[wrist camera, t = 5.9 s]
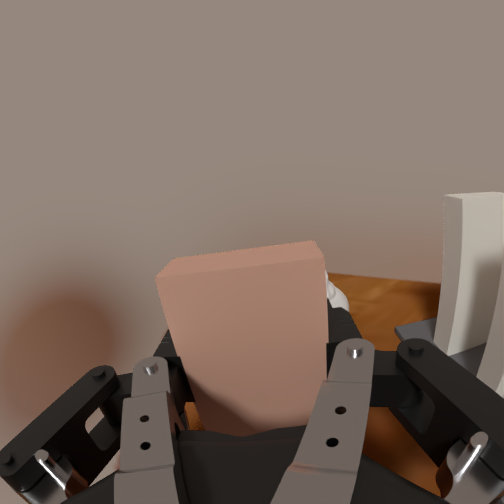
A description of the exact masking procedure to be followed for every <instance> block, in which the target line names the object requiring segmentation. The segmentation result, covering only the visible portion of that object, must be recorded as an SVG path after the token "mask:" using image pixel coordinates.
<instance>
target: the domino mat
mask: <svg viewBox="0 0 504 504" xmlns="http://www.w3.org/2000/svg"><path fill="white" fill-rule="evenodd" d="M436 322H437V317H435V318H431V319H427V320H423V321H419V322H415V323H411V324H406V325H402V326H397V327H395V332H396V334H397V335H398V337H399V338H400V340H401V341H404V340H406V339H410V338H421V339H425V340H427V341H429V342H430V343H432V344H433V345H434V346H436V347H437V345H436V344H435V343H434V342H433V340H434V335H435V329H436ZM486 344H487V342H486V343H483V344H481V345H478V346H476V347H473V348H470V349H467V350H465V351H462V352H459V353H456V354H453V355H450V356H449V357H451V358H452V359H453V360H455V361H456V362H457V363H459V364H460V365H461V366H463V367H464V368H465V369H466V370H468V371H469V372H470V373H472V374H473V375H474V376H477V373H478V370H479V367H480V364H481V361H482V358H483V354H484V351H485V347H486ZM437 348H438V347H437ZM497 504H504V496H503V497H502V498H501V499H500V500H499V501H498V502H497Z"/></svg>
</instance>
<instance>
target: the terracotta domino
mask: <svg viewBox="0 0 504 504" xmlns="http://www.w3.org/2000/svg"><path fill="white" fill-rule="evenodd" d="M155 280H156V284H157V288H158V292H159V296H160V300H161V303H162V307H163V310H164V313H165V317H166V321H167V324H168V327H169V331H170V334H171V337H172V340H173V344H174V347H175V350H176V353H177V356H180V358H181V361H182V364H183V367H184V370H185V373H186V376H187V379H188V382H189V384H190V387H191V390H192V393H193V395H194V398H195V401H196V402H194V404H195V407H196V409H197V412H198V414H199V417H200V419H201V422H202V424H203V427H204V429H205V431H214V432H219V433H224V434H229V435H235V436H241V437H242V436H249V435H253V434H257V433H261V432H265V431H269V430H272V429H276V428H286V427H295V426H303V425H307V424H308V421H309V419H310V416H311V413H312V410H313V407H314V404H315V401H316V399H317V396H318V392H319V389H320V386H321V383H322V381H323V380H326V381H327V365H326V343H329V340H328V310H327V290H326V274H325V260H324V256H323V254H322V253H321V251H320V250H319V248H318V246H317V245H316V243H315V242H314V241H313V240H312V241H305V242H297V243H289V244H281V245H273V246H265V247H257V248H251V249H242V250H234V251H226V252H220V253H212V254H203V255H196V256H188V257H180V258H174V259H173V260H172V261H171V262H170V263H169V264H168V265H167V266H166V267H165V268H164V269H163V270H162V271H161V272H160V273H159V274H158V275H157V276H156V277H155Z"/></svg>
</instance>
